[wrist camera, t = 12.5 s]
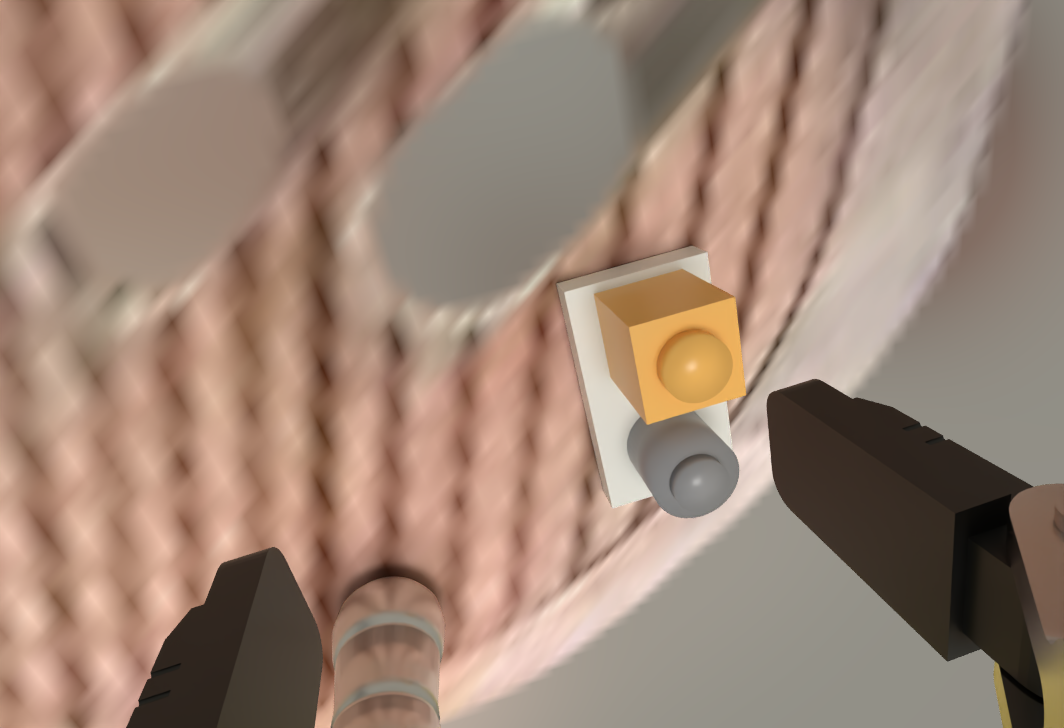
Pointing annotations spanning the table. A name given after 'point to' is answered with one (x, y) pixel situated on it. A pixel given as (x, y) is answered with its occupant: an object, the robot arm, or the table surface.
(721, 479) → the capped post
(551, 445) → the table surface
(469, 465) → the table surface
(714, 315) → the domed tan cube
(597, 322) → the white rectangular plate
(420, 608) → the plastic bottle
